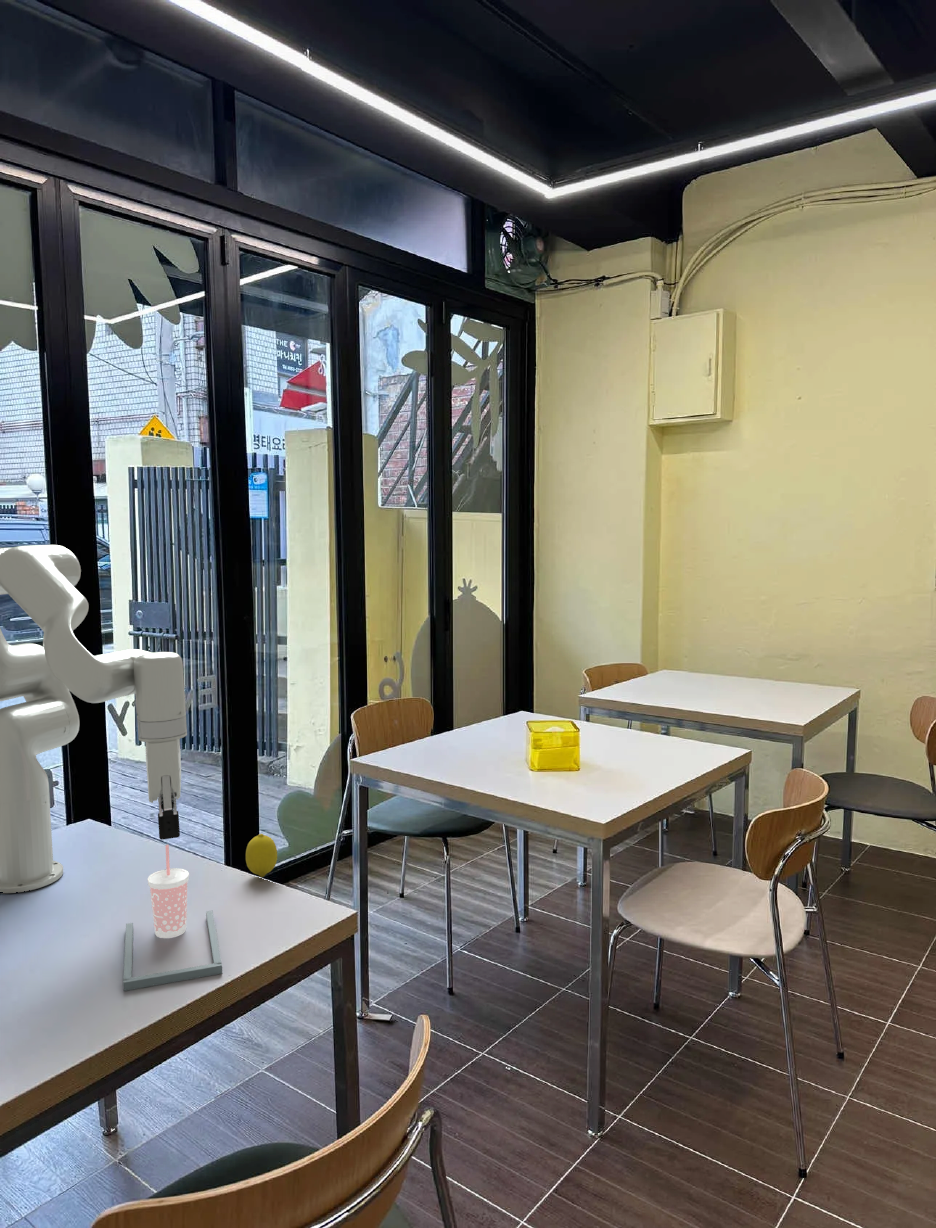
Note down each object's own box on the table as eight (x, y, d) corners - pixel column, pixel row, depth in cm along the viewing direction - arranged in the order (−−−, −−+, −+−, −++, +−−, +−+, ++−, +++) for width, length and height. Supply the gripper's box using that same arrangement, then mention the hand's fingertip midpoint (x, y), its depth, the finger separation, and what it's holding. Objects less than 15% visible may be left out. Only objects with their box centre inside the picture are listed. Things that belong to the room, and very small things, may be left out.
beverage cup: (149, 925, 137) (145, 840, 135) (190, 919, 139) (186, 835, 137) (150, 943, 131) (146, 854, 129) (192, 936, 133) (189, 849, 132)
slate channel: (126, 930, 135) (126, 923, 135) (212, 917, 139) (212, 910, 139) (123, 990, 118) (123, 982, 118) (222, 973, 122) (222, 965, 122)
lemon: (265, 868, 159) (263, 826, 158) (284, 875, 156) (283, 833, 155) (240, 877, 155) (238, 834, 154) (259, 885, 151) (257, 841, 151)
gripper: (138, 721, 147) (145, 826, 148) (137, 740, 133) (145, 856, 134) (184, 716, 149) (191, 819, 151) (188, 735, 135) (195, 848, 137)
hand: (169, 836), depth 143 cm, fingers closed
